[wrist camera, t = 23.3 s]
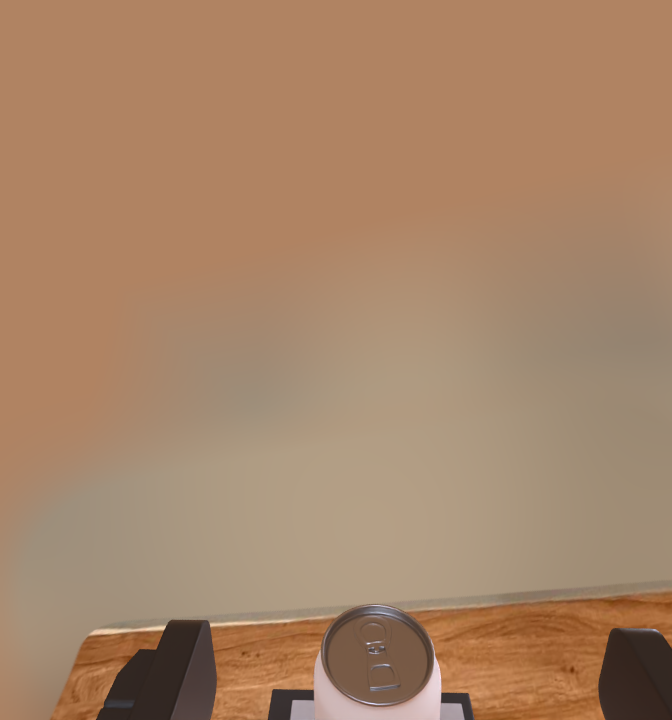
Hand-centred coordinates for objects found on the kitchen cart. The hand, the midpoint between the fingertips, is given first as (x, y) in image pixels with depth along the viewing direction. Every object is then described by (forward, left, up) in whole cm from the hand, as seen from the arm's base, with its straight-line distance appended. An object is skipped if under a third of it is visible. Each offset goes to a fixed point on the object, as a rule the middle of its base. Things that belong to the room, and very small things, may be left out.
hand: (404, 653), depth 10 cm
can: (-8, +8, -25) cm, 27 cm away
